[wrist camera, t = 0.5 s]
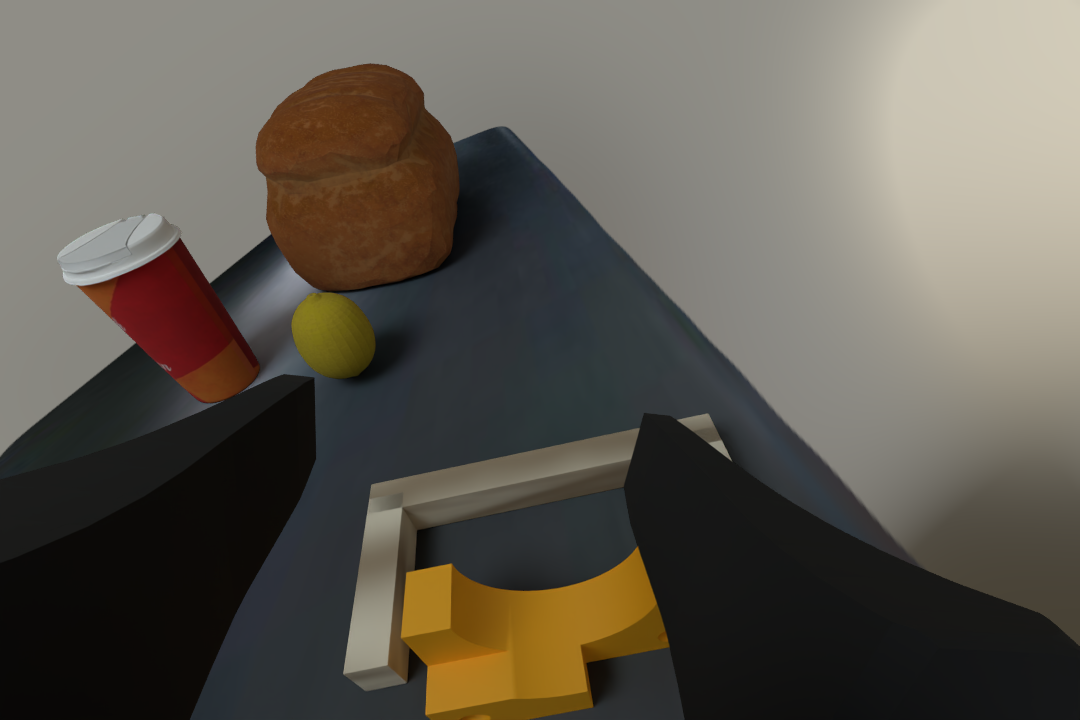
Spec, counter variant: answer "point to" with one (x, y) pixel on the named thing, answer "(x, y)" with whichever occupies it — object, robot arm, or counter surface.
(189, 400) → the counter surface
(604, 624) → the pipe clamp
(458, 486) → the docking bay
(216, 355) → the paper cup
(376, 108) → the bread
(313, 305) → the lemon
